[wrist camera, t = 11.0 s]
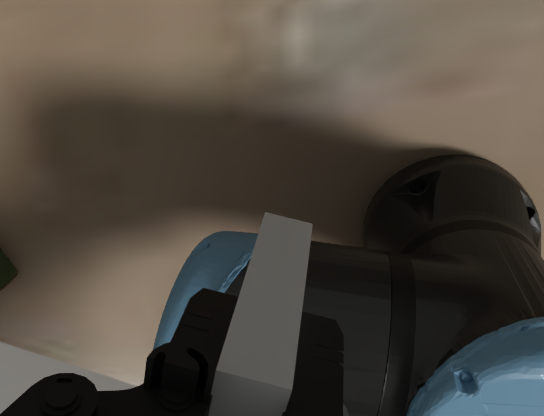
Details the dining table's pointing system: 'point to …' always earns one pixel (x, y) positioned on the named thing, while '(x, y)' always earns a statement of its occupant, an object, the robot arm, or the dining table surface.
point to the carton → (6, 271)
